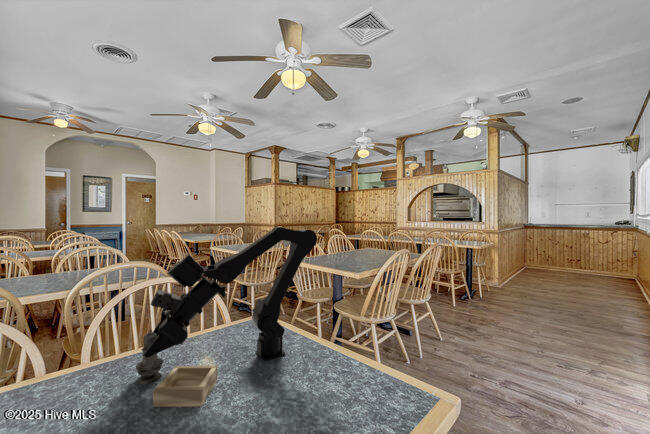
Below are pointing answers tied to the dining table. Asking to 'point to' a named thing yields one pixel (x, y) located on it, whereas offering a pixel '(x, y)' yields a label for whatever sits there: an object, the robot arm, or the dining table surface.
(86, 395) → the dining table surface
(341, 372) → the dining table surface
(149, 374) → the dark grey chess piece
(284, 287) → the robot arm
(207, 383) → the wooden tray
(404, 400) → the dining table surface
